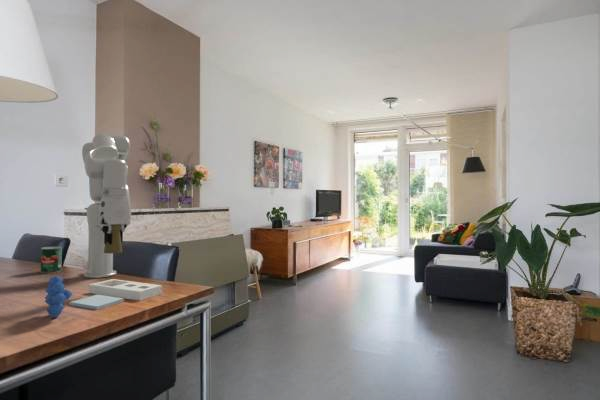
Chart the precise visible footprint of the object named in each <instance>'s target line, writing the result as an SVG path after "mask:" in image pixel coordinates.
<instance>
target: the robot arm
mask: <svg viewBox="0 0 600 400" xmlns="http://www.w3.org/2000/svg"><path fill="white" fill-rule="evenodd" d="M81 149H82V152H81V153H82V154H81V156H82V161H83V164H84V170H85V174H86V176H87V177H88V185H89V186H88V187H89V189H88V190H89V197H90V199H91V200H92V201H93V202H94V203H91V204H89V205H88V206H87V208H86V219H87V226H88V247H87V248H88V251H87V253H88V254H87V255H88V256H87V258H88V259H87V261H88V262H87V264H86V265H85V266H83V270H86V272H84V273H83V277H85V278H88V279H89V278H91V279H98V278H108V277H113V276H115V275H117V270H114V269H113V267H114V253H104V248H105V244H106V243H107V242H109V245H111V244H112V233H111V226H112V225H118V224H121V225H122V228H121V230H120V237H121V244H123V241H124V239H123V237H124V235H123V234H124V232H125V230H126V228H127V227H128V226H129V225H130V224H131V219H132V203H131V196H130V194H131V193H130V187H129V186H128V184H127V176H128V175H129V166H128V164H127V162H126V158H127V157H128V156H129V154H130V151H131V141H130V139H129V138H128V137H127V136H125V135H122V134H115V133H114V134H112V133H106V132H105V133H104V132H103V133H98V134H96V135H94V137H93V138H92V142H87V143H84V144H83V146H82V148H81ZM106 226H108V228H107V227H106Z"/></svg>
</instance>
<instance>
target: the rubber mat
mask: <svg viewBox="0 0 600 400" xmlns="http://www.w3.org/2000/svg"><path fill="white" fill-rule="evenodd" d="M123 302H125V298H119V297H113V296H106V295H100V294H94V295H91V296H87V297H82V298H80V299H75V300H72V301H69V306H73V307H78V308H79V307H80V308H84V309H89V310H96V311H98V310H101V309H105V308H107V307H111V306H114V305H117V304H120V303H123Z"/></svg>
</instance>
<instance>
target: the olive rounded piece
mask: <svg viewBox="0 0 600 400" xmlns="http://www.w3.org/2000/svg"><path fill="white" fill-rule="evenodd" d="M106 227H107V228H108V226H106ZM121 228H122V225H121V224H118V225H112V226H111V233H112V244H111V245H109V242H107V243H106V244H105V248H104V253H113V254H120V253H123V247H122V245H123V244H122V243H121V237H120V230H121Z"/></svg>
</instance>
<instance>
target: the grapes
mask: <svg viewBox="0 0 600 400" xmlns="http://www.w3.org/2000/svg"><path fill="white" fill-rule="evenodd" d="M63 282H64V279H63V277H60V276H58V275H56V276H55V275H54V276H53V277H51V278H49V279H48V281H47V283H46V284H47V286H48V287H46V289H45V290H44V291H45V292H46V296H45V297H44V299H45V300H44V303H46V304H47V305H48V307H47V308H46V310H45V311H46V312H47V314H48V315H49V316H50V317H51V318H52V319H53V318H54V319H55V318H58V317H59V316H60V315H61V314H62V312H63V310H64V309H65V306H64V305H63V304H64V303H65V301H67V300H69V299H70V298H71V297H72V296H73V292H72V291H71V290H69V289H65V288H66V285H65V284H64V283H63Z"/></svg>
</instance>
